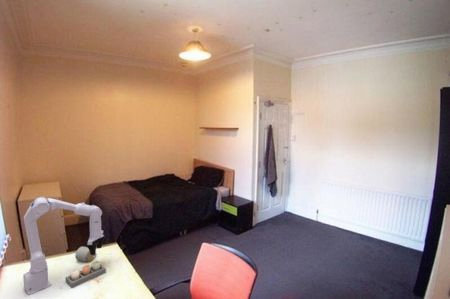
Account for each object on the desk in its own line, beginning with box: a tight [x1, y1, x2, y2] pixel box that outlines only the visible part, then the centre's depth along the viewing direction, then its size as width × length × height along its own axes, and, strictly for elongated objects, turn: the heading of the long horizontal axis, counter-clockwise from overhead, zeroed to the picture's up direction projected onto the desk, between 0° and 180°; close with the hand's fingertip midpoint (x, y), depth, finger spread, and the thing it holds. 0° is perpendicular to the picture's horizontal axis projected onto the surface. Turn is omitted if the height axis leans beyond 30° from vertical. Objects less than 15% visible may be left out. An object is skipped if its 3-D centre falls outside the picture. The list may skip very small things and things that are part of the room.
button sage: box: [92, 260, 101, 272], centre depth 134 cm, size 4×4×4 cm
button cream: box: [70, 269, 80, 281], centre depth 126 cm, size 4×4×4 cm
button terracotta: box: [81, 264, 91, 276], centre depth 130 cm, size 4×4×4 cm
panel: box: [65, 264, 107, 289], centre depth 130 cm, size 17×8×2 cm, turn 142°
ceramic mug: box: [74, 246, 97, 263], centre depth 148 cm, size 11×8×8 cm
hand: (96, 251), depth 138 cm, fingers open, 7 cm apart
